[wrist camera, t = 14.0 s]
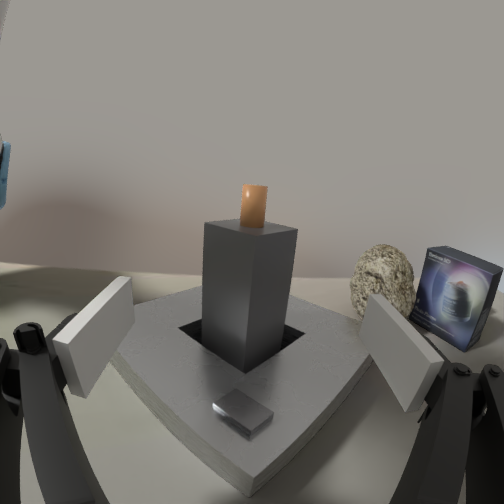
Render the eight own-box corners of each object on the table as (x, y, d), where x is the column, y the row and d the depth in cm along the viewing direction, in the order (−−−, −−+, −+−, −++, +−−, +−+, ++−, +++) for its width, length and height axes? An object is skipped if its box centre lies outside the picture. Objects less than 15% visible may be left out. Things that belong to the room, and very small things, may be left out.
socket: (96, 343, 23) (90, 311, 22) (237, 295, 38) (239, 270, 37) (249, 497, 11) (255, 472, 10) (377, 354, 26) (387, 325, 25)
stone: (366, 344, 28) (389, 257, 25) (338, 305, 37) (351, 234, 34) (409, 340, 28) (433, 260, 26) (376, 305, 38) (391, 238, 35)
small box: (405, 319, 33) (424, 245, 31) (427, 310, 36) (444, 244, 33) (464, 354, 24) (494, 272, 21) (480, 339, 27) (504, 267, 24)
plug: (201, 354, 24) (207, 182, 20) (239, 336, 28) (252, 183, 24) (242, 382, 21) (259, 188, 17) (279, 357, 25) (302, 190, 21)
